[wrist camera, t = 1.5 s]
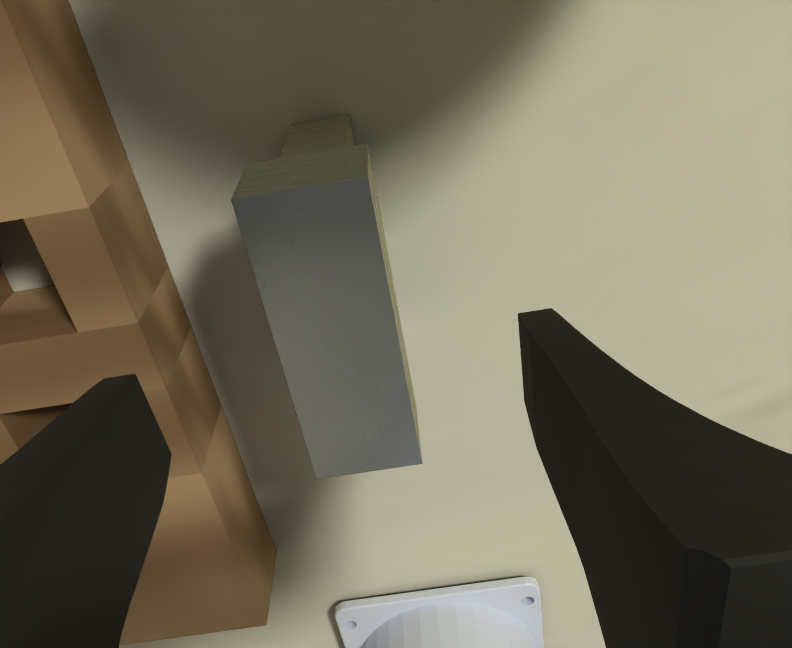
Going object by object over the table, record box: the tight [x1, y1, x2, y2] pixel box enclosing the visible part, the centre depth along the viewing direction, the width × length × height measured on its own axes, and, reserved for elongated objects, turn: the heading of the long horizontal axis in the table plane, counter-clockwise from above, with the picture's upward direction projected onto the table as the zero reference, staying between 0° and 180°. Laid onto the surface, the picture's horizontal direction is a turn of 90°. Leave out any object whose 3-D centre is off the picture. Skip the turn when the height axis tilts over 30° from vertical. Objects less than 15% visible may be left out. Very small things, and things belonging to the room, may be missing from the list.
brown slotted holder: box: [0, 0, 276, 645], centre depth 18 cm, size 22×6×3 cm, turn 9°
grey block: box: [231, 115, 422, 479], centre depth 16 cm, size 7×2×6 cm, turn 9°
